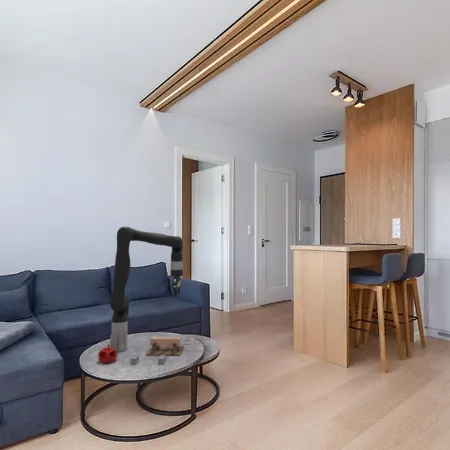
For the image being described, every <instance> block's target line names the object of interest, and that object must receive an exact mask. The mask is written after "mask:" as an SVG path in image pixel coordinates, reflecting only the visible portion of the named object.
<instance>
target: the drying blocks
mask: <svg viewBox="0 0 450 450" xmlns="http://www.w3.org/2000/svg"><path fill="white" fill-rule="evenodd" d="M166 357H167V356H166V355H160V356H158V358H157V365H159V366H161V365H164V364H165V362H166V360H167V359H166ZM139 361H140V354H133V355H132V357H130V365H137V364H138V362H139Z"/></svg>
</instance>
